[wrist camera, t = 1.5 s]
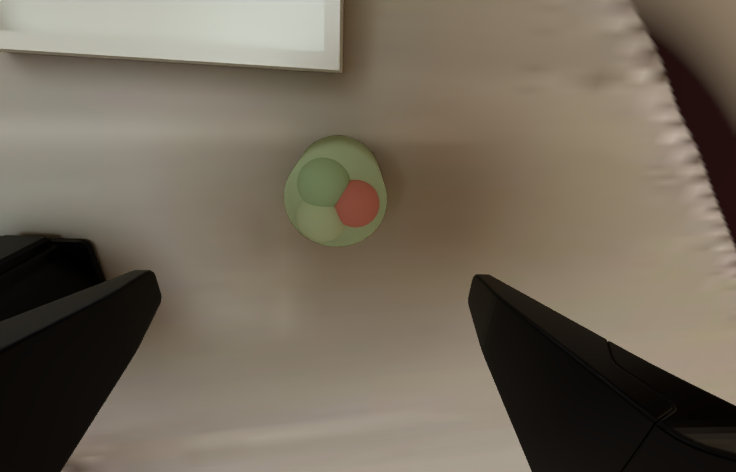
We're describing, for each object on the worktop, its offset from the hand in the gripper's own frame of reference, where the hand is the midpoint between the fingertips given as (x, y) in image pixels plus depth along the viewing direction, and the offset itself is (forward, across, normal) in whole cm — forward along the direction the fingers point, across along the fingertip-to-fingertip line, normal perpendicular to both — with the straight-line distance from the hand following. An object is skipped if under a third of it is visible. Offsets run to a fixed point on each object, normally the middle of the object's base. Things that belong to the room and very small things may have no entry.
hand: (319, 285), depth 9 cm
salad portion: (+12, 0, 0) cm, 12 cm away
